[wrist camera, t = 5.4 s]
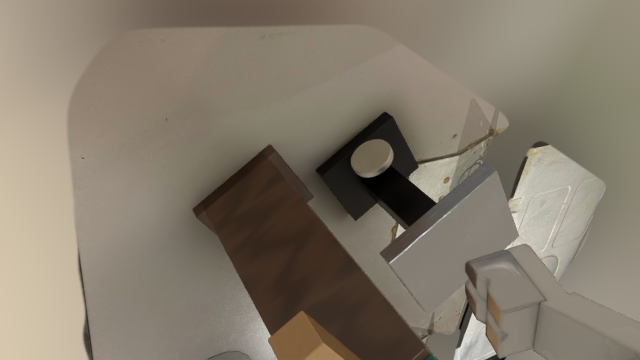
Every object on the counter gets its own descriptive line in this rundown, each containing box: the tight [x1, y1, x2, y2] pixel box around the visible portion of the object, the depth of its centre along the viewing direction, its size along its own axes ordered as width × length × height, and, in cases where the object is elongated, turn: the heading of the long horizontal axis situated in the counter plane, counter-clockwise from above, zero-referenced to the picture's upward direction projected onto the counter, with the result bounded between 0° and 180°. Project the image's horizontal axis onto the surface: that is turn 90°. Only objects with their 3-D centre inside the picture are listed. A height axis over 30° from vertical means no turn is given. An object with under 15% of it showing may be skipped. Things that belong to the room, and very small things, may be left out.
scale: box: [316, 112, 519, 315], centre depth 50 cm, size 12×11×16 cm
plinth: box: [193, 145, 438, 360], centre depth 41 cm, size 10×8×26 cm
